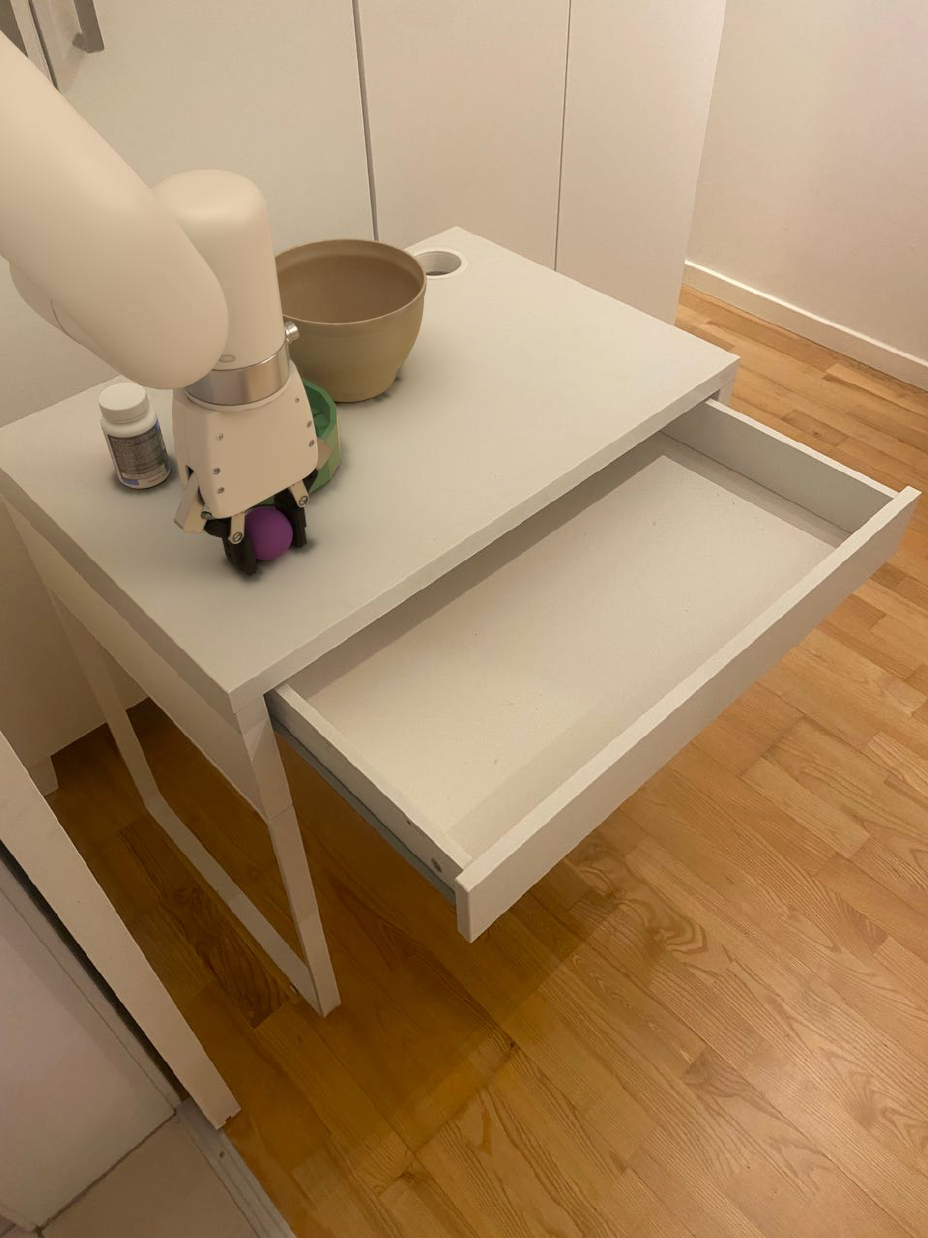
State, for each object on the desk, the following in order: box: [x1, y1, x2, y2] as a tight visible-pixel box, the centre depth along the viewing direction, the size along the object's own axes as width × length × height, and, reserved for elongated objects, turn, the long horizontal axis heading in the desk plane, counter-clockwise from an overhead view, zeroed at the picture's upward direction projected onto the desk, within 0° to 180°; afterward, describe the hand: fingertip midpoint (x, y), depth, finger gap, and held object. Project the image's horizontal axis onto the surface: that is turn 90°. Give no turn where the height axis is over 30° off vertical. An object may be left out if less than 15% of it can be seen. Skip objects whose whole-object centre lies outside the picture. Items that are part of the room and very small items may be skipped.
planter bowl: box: [274, 237, 428, 403], centre depth 94 cm, size 16×16×11 cm
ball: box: [244, 506, 293, 561], centre depth 79 cm, size 4×4×4 cm
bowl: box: [256, 377, 342, 505], centre depth 87 cm, size 13×13×5 cm
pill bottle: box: [97, 381, 171, 489], centre depth 84 cm, size 5×5×8 cm
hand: (268, 549), depth 80 cm, fingers closed on ball, 4 cm apart
